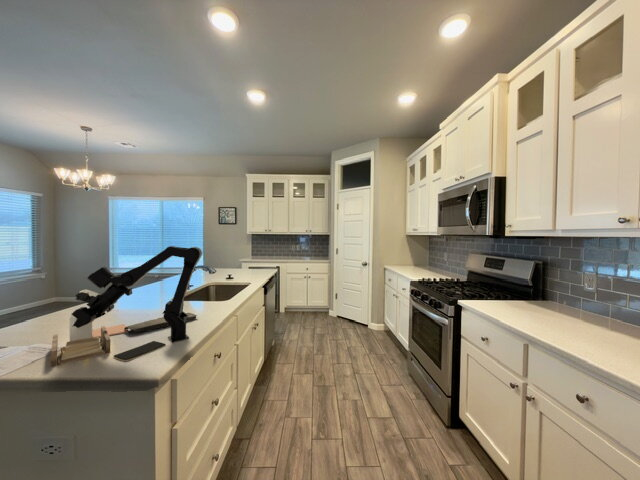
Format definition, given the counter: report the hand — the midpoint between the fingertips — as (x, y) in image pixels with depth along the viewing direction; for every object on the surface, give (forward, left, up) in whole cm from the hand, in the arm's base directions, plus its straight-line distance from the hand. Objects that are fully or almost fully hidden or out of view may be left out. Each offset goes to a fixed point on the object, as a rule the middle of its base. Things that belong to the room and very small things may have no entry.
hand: (76, 326), depth 100 cm
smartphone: (-21, -17, -8) cm, 28 cm away
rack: (-6, -1, -8) cm, 10 cm away
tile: (+11, -11, -8) cm, 18 cm away
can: (-1, -1, -7) cm, 7 cm away
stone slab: (+6, -31, -8) cm, 33 cm away
